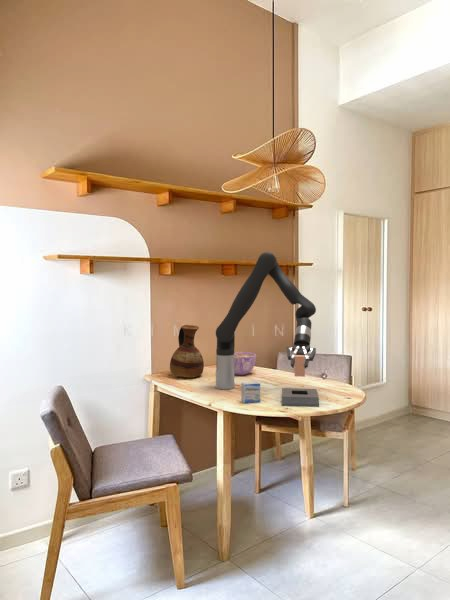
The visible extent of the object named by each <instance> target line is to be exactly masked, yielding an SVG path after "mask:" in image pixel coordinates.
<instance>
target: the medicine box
mask: <svg viewBox="0 0 450 600" xmlns="http://www.w3.org/2000/svg"><path fill="white" fill-rule="evenodd" d="M240 384H241V385H240V387H241V390H240V394H241V399H240V400H241V402H242V403H244V404H256V403H261V383H260V382H259V381H251V382H250V381H249V382H241V383H240Z"/></svg>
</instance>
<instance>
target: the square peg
mask: <svg viewBox="0 0 450 600" xmlns="http://www.w3.org/2000/svg"><path fill="white" fill-rule="evenodd" d="M304 365H305V355H294V368H293V369H294V377H300V378H301V377H303V378H304V377H306V368H305V366H304Z"/></svg>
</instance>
